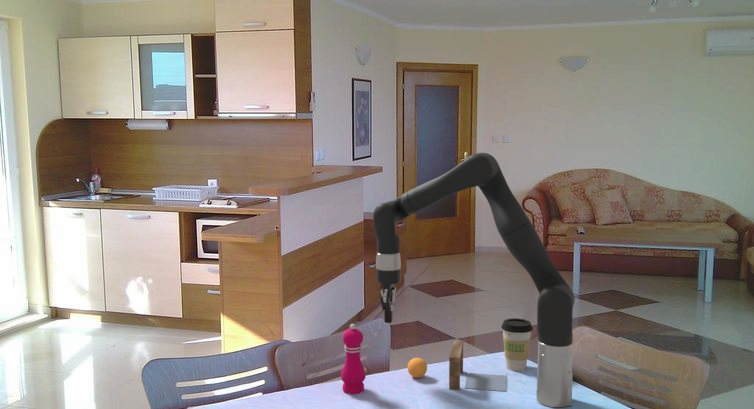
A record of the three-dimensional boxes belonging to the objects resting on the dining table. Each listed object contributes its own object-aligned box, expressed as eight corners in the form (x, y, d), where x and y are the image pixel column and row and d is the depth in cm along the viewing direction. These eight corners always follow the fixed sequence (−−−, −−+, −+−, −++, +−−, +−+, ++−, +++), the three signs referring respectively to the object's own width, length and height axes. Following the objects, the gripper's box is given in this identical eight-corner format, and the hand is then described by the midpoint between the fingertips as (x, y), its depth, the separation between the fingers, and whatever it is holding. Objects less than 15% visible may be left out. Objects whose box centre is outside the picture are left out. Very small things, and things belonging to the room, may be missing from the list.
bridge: (463, 371, 199) (463, 341, 198) (459, 390, 184) (459, 358, 183) (453, 370, 200) (453, 340, 199) (449, 389, 185) (449, 357, 184)
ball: (428, 374, 197) (428, 355, 196) (425, 381, 191) (425, 362, 190) (409, 372, 198) (409, 354, 197) (406, 380, 192) (406, 361, 192)
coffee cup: (494, 365, 204) (495, 320, 203) (519, 360, 208) (519, 316, 207) (513, 375, 195) (514, 328, 194) (538, 370, 200) (539, 324, 198)
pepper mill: (362, 396, 181) (362, 328, 178) (338, 394, 182) (337, 326, 180) (368, 386, 188) (367, 320, 185) (344, 384, 189) (343, 319, 187)
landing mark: (506, 376, 195) (506, 375, 195) (506, 391, 183) (506, 390, 183) (467, 373, 197) (467, 372, 197) (464, 388, 186) (464, 387, 186)
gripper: (396, 272, 185) (396, 329, 187) (404, 263, 198) (404, 316, 200) (371, 271, 187) (372, 327, 189) (380, 262, 200) (380, 315, 202)
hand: (388, 321), depth 194 cm, fingers closed
